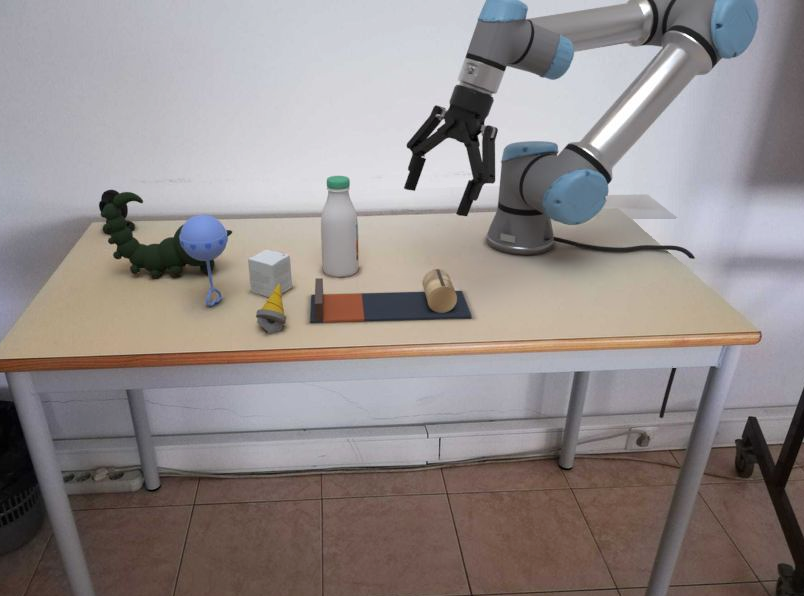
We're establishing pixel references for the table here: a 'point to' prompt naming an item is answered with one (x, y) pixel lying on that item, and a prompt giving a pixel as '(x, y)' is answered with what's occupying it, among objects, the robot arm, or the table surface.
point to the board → (378, 307)
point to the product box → (269, 272)
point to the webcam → (108, 199)
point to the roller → (439, 291)
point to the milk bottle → (339, 230)
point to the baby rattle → (204, 243)
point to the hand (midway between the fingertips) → (434, 202)
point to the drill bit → (272, 312)
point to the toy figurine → (142, 255)
